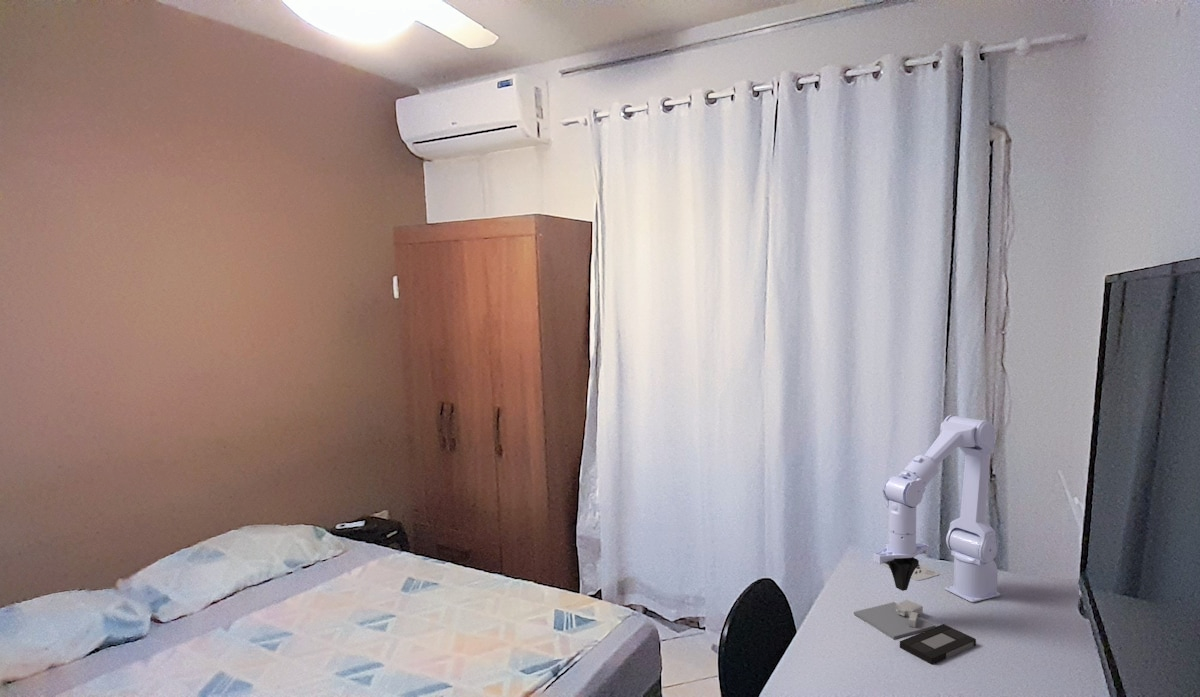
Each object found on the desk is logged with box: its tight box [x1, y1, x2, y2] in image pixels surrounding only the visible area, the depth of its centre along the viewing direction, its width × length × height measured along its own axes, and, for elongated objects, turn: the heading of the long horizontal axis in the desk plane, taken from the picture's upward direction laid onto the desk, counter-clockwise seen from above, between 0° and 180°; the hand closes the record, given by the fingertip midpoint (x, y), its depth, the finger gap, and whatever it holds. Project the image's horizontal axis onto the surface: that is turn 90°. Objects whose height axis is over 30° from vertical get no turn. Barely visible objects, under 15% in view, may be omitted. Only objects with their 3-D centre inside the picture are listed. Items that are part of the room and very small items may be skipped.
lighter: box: [895, 599, 924, 628], centre depth 151 cm, size 7×2×8 cm
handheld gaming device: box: [882, 562, 940, 581], centre depth 179 cm, size 9×1×15 cm
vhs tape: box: [899, 623, 977, 666], centre depth 140 cm, size 8×14×2 cm, turn 118°
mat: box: [853, 602, 937, 640], centre depth 151 cm, size 12×12×1 cm
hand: (901, 588), depth 151 cm, fingers closed
